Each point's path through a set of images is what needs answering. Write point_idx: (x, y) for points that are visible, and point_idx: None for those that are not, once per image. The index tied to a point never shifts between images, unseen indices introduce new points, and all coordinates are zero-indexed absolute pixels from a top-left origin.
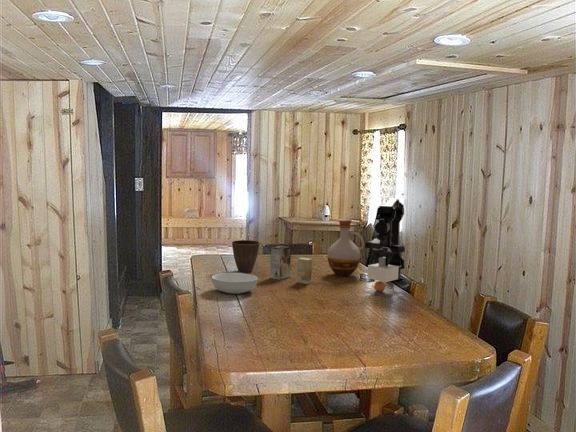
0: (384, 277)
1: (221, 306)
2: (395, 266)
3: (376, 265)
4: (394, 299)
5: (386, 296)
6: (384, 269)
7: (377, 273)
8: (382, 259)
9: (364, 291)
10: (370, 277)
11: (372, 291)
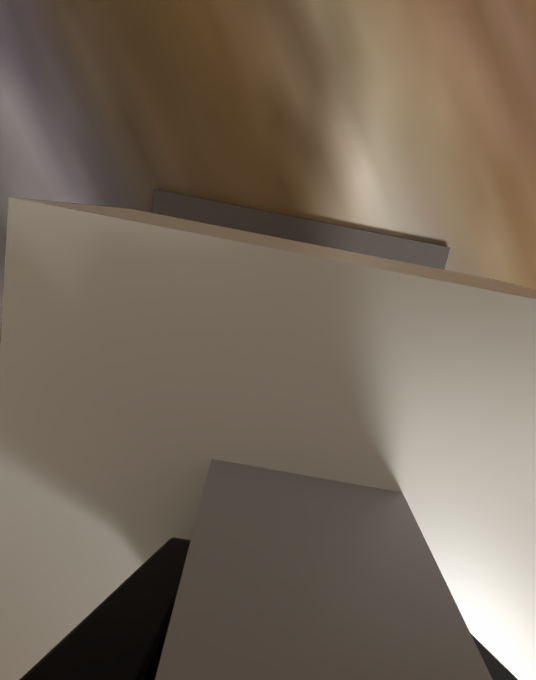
0: (136, 212)
1: None
2: (20, 676)
3: (457, 476)
4: (24, 141)
5: (153, 205)
6: (85, 210)
7: (309, 247)
8: (288, 638)
9: (447, 249)
10: (444, 270)
11: None
